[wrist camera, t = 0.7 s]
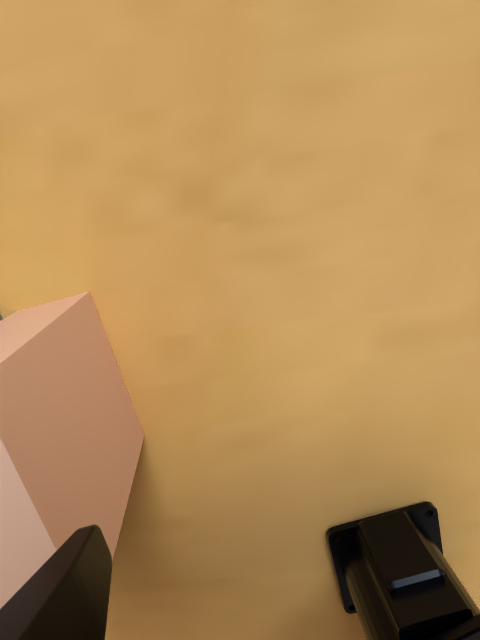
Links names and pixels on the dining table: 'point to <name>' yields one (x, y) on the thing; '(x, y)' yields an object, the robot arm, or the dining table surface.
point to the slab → (60, 435)
